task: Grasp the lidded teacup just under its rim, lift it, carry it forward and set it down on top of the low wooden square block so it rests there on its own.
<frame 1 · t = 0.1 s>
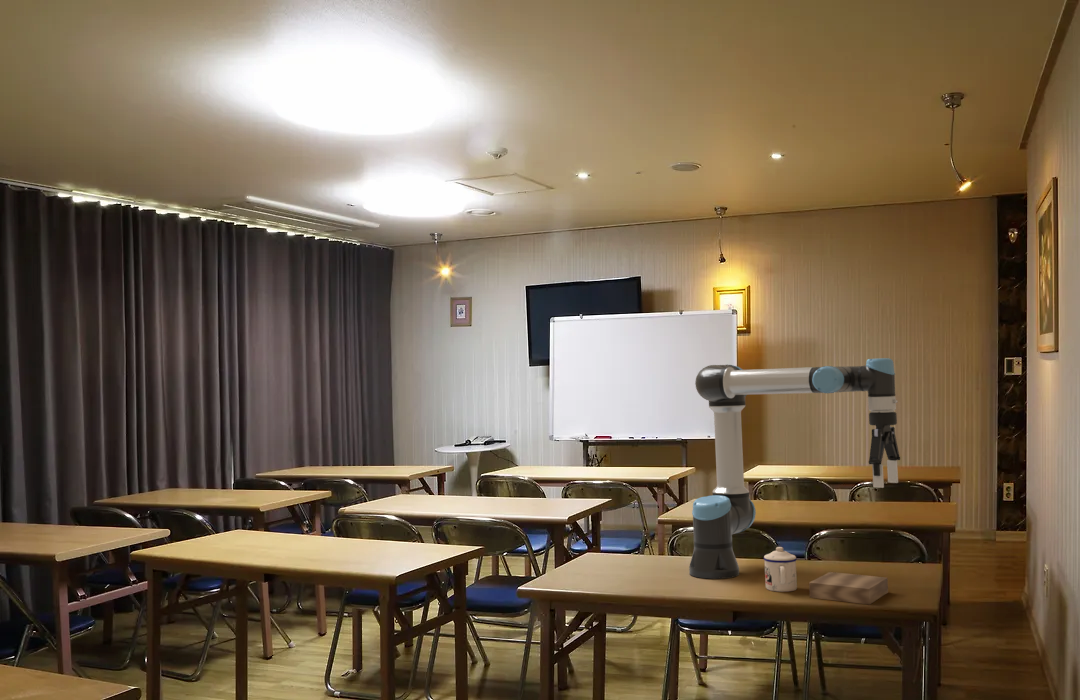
hand: (885, 485, 260), 28 cm above the table, fingers open, 13 cm apart
teacup with lid: (781, 590, 254), on the table
wooden square block: (849, 594, 245), on the table
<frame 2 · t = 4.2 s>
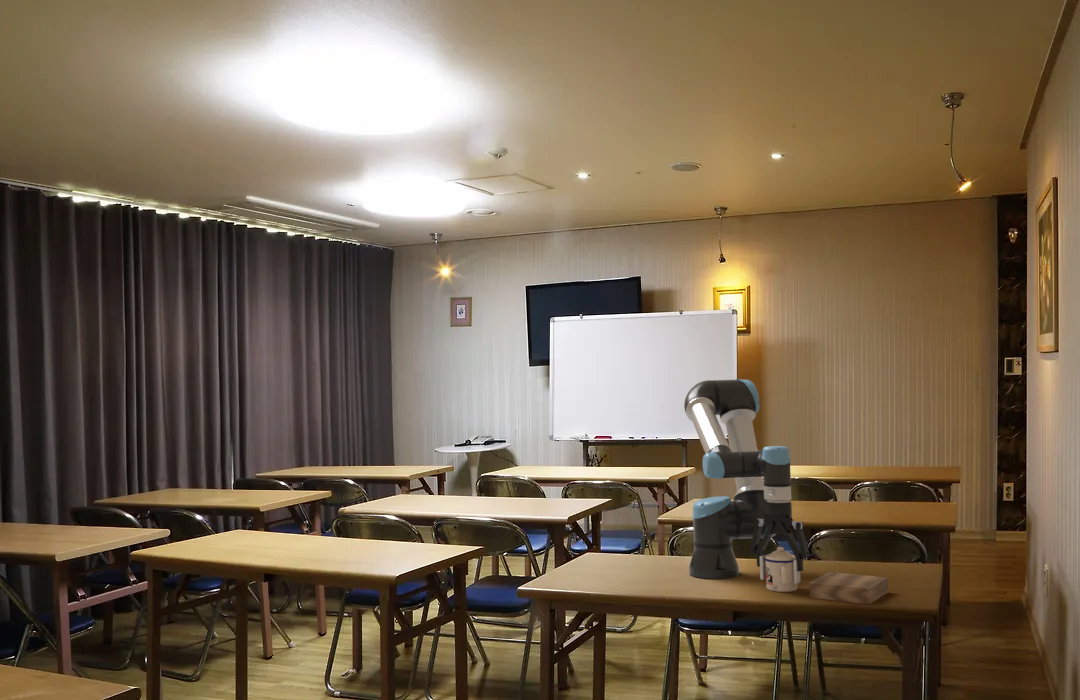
hand: (780, 580, 254), 3 cm above the table, fingers open, 9 cm apart
teacup with lid: (782, 590, 254), on the table, touching gripper
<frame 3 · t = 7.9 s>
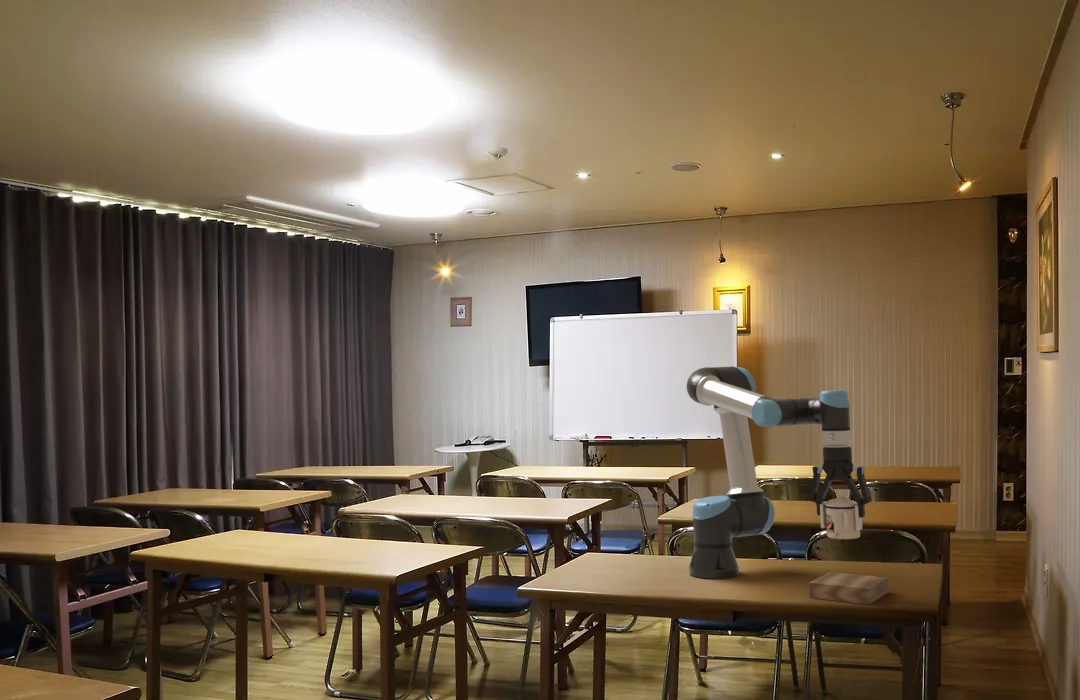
hand: (841, 528, 246), 18 cm above the table, fingers closed on teacup with lid, 9 cm apart
teacup with lid: (844, 538, 246), point 15 cm above the table, touching gripper
when the fingers open (8 cm above the table, at t = 11.4 s): teacup with lid drops 2 cm, resting on wooden square block.
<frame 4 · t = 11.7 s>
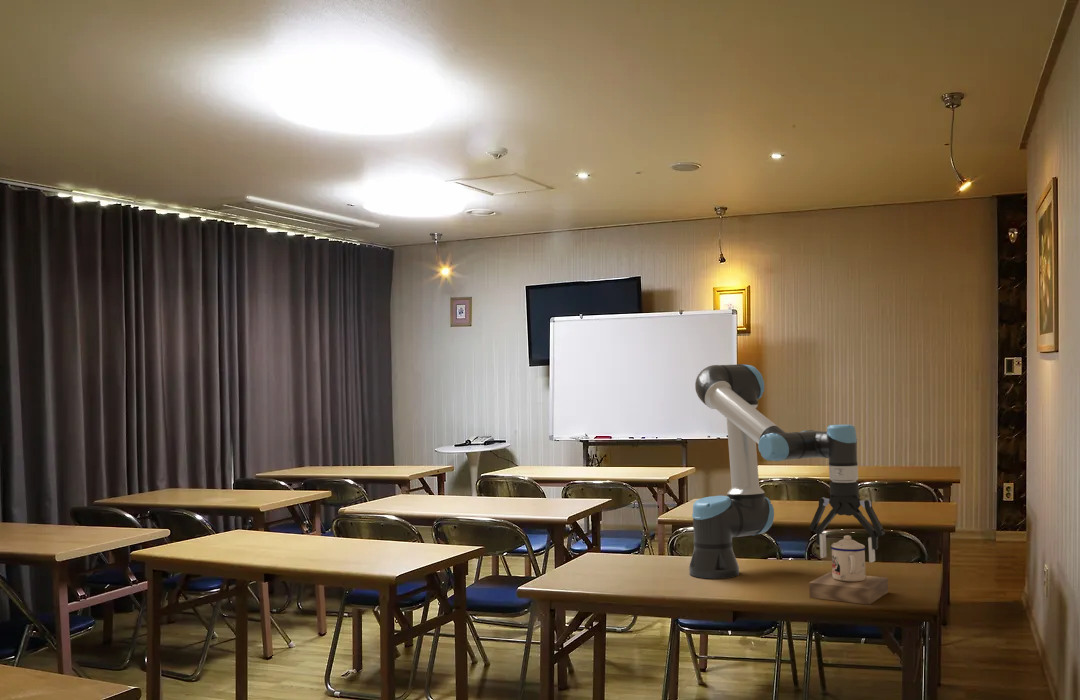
hand: (847, 559, 246), 10 cm above the table, fingers open, 13 cm apart
teacup with lid: (850, 580, 245), point 4 cm above the table, touching wooden square block
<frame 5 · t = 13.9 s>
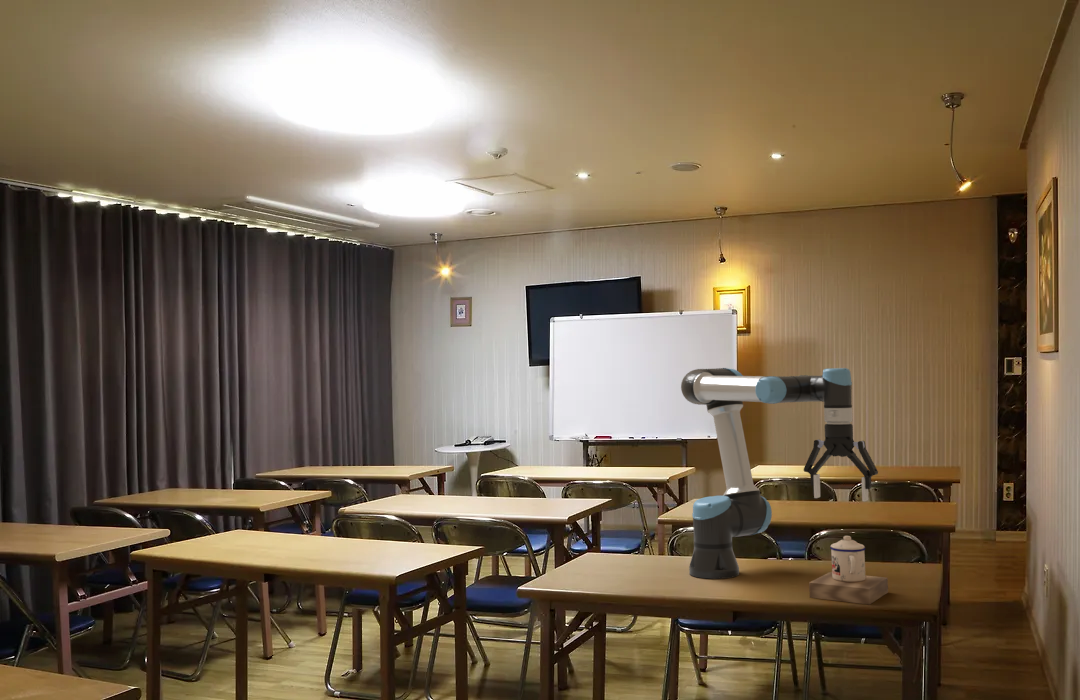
hand: (840, 499, 251), 25 cm above the table, fingers open, 13 cm apart
nothing on the table moved.
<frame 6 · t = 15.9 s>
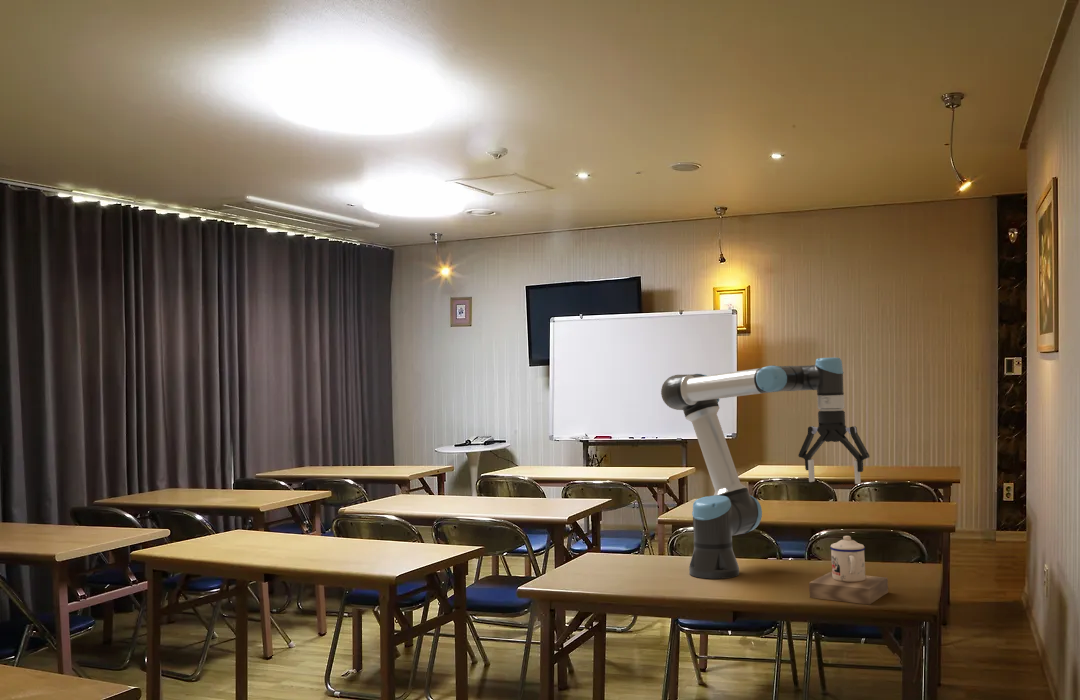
hand: (834, 482, 263), 29 cm above the table, fingers open, 13 cm apart
nothing on the table moved.
at the end: teacup with lid inside the target area on the wooden square block (0.4 cm from its centre), point 3.8 cm above the wooden square block's base; teacup with lid tilted 0°; the gripper is holding nothing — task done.
